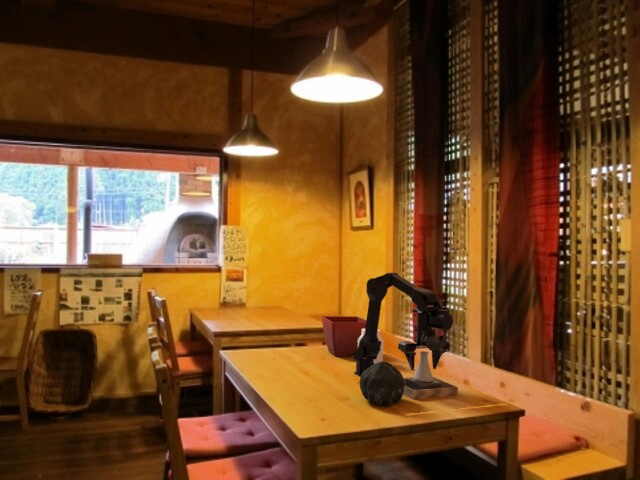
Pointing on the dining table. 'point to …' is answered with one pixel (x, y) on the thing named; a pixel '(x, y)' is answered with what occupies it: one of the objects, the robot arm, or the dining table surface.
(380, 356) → the jar
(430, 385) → the block
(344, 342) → the plant pot
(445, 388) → the brown tray
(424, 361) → the flask
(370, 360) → the robot arm
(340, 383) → the dining table surface
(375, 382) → the squash
